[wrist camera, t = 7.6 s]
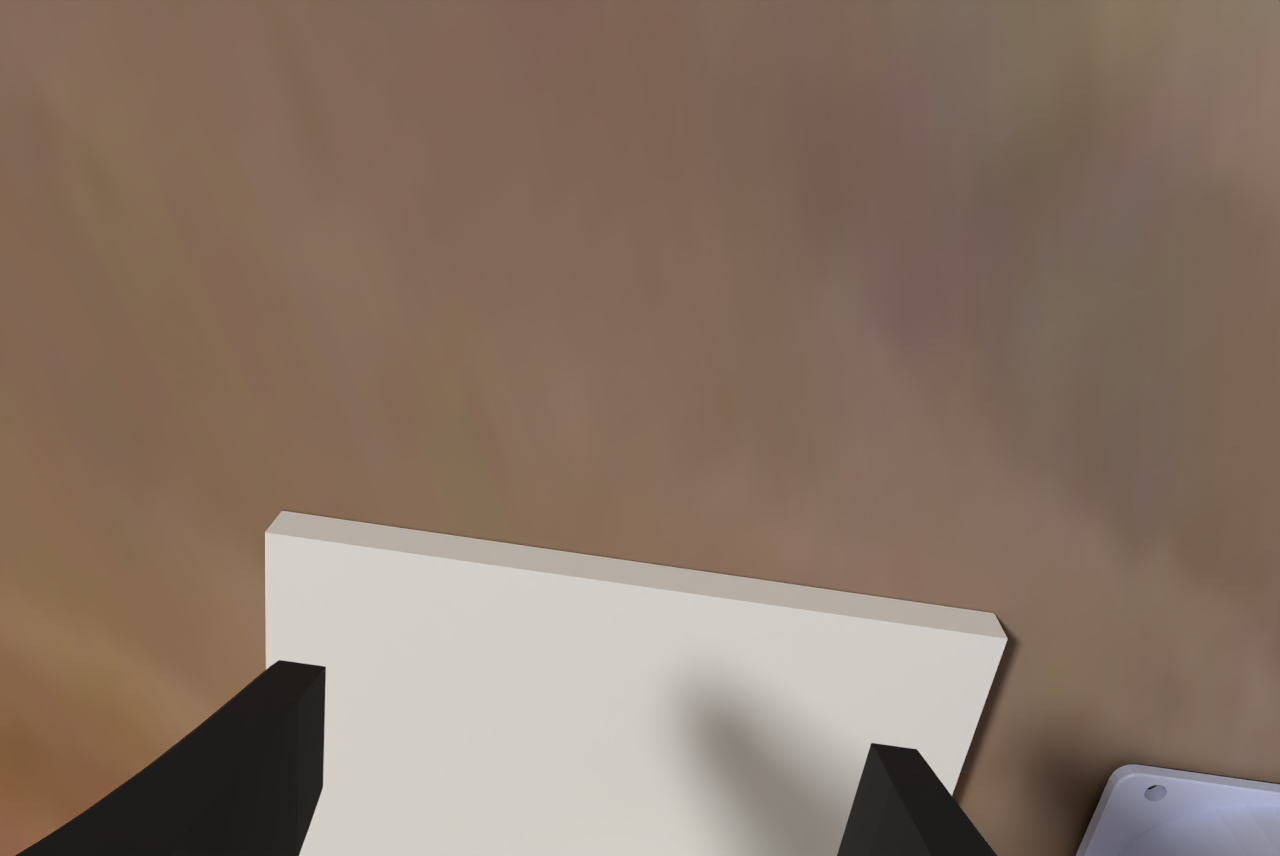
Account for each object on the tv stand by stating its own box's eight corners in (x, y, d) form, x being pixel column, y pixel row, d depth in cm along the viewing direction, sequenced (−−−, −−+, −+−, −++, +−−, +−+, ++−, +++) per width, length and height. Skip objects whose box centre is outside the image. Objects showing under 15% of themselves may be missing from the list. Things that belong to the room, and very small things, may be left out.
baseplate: (994, 613, 23) (1009, 641, 22) (830, 1085, 30) (836, 1124, 29) (281, 510, 22) (263, 534, 21) (280, 1014, 29) (266, 1050, 28)
